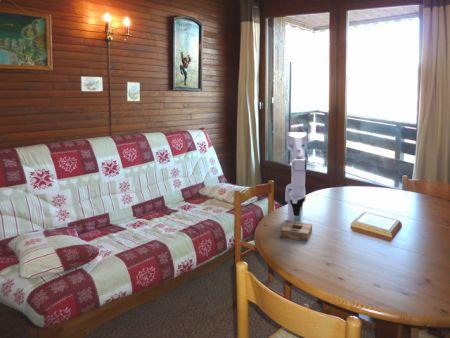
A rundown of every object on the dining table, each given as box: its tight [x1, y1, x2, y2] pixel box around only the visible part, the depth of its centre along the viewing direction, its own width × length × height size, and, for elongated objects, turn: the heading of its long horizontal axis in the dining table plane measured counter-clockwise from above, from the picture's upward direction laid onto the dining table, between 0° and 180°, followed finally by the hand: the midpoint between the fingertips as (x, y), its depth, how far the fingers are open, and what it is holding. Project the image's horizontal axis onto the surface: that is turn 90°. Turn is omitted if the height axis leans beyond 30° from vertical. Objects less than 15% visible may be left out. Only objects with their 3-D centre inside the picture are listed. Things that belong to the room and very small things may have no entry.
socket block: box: [280, 221, 313, 242], centre depth 179 cm, size 12×12×4 cm
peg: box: [294, 208, 301, 222], centre depth 176 cm, size 3×3×9 cm
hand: (297, 214), depth 177 cm, fingers closed on peg, 3 cm apart
